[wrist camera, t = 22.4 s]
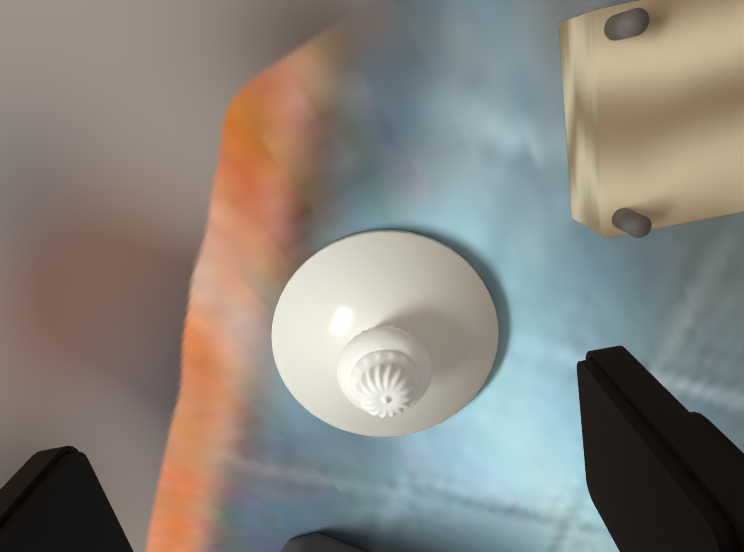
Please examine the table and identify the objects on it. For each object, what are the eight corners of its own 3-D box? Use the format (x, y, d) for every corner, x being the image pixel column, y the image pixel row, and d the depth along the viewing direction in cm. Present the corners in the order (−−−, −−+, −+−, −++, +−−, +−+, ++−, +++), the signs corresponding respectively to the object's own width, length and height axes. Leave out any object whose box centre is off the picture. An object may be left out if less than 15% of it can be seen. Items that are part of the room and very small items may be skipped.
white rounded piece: (335, 309, 34) (327, 360, 28) (424, 302, 34) (437, 351, 28) (344, 387, 37) (339, 451, 30) (428, 380, 36) (441, 443, 30)
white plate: (505, 407, 39) (510, 416, 38) (304, 442, 40) (303, 452, 39) (479, 207, 33) (483, 211, 32) (247, 253, 34) (243, 259, 33)
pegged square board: (755, 182, 33) (852, 204, 26) (572, 218, 34) (622, 248, 27) (767, -23, 29) (885, -57, 22) (558, 23, 30) (614, 3, 23)
